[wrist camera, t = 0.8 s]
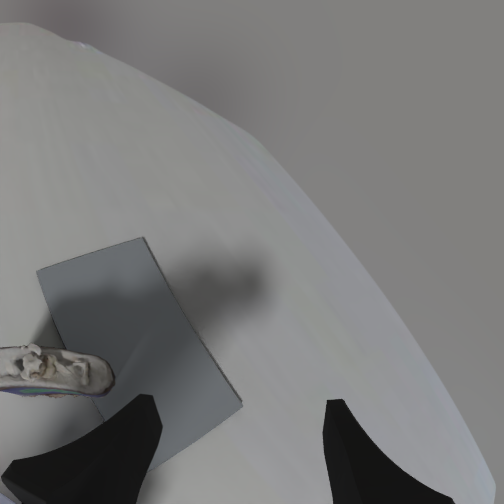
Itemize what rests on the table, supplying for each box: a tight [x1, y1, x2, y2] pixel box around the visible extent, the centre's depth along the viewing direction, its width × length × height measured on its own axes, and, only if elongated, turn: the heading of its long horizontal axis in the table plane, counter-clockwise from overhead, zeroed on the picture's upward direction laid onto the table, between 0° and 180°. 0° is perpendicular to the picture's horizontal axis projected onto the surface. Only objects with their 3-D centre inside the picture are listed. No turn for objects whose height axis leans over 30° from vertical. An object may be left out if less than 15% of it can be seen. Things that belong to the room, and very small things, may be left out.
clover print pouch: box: [0, 343, 116, 398], centre depth 15 cm, size 9×3×11 cm, turn 105°
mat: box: [36, 238, 243, 472], centre depth 25 cm, size 12×20×1 cm, turn 38°
